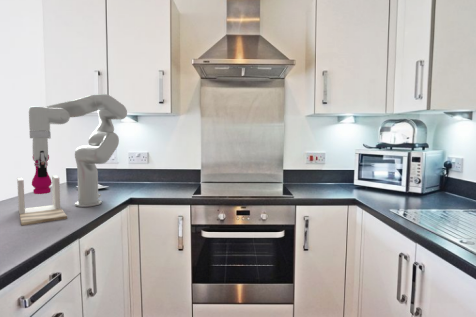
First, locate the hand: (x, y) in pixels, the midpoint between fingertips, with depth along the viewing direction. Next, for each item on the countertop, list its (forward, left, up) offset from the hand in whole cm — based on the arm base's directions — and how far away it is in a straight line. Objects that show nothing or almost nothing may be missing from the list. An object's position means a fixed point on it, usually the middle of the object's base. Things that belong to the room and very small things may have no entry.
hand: (41, 175), depth 123 cm
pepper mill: (0, 0, -8) cm, 8 cm away
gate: (-12, -11, -19) cm, 25 cm away
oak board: (0, 0, -19) cm, 19 cm away
